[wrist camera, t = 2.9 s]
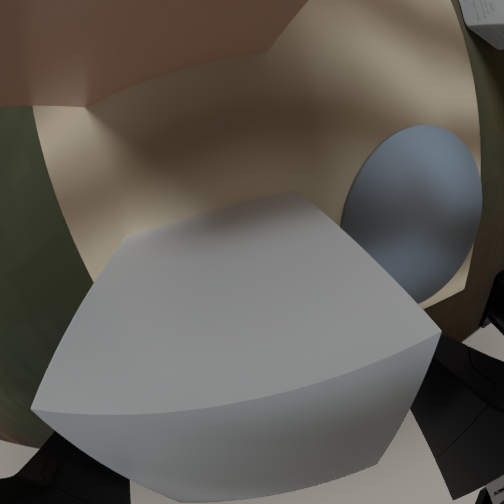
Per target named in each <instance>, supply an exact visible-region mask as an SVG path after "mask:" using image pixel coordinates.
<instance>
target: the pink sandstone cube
mask: <svg viewBox="0 0 504 504" xmlns="http://www.w3.org/2000/svg"><path fill="white" fill-rule="evenodd" d="M308 1H309V0H0V107H9V106H69V107H87V106H89V105H91V104H93V103H95V102H97V101H99V100H101V99H103V98H105V97H108V96H110V95H112V94H114V93H117V92H119V91H121V90H124V89H126V88H129V87H131V86H134V85H136V84H139V83H142V82H144V81H147V80H150V79H153V78H156V77H159V76H162V75H165V74H168V73H171V72H174V71H178V70H181V69H184V68H188V67H192V66H195V65H199V64H203V63H207V62H212V61H216V60H221V59H225V58H231V57H236V56H241V55H247V54H254V53H260V52H268V50H269V49H270V48H271V46H272V45H273V44H274V42H275V41H276V40H277V38H278V37H279V36H280V35H281V33H282V32H283V31H284V30H285V28H286V27H287V26H288V25H289V23H290V22H291V21H292V20H293V18H294V17H295V16H296V15H297V14H298V12H299V11H300V10H301V9H302V8H303V7H304V5H305V4H306V3H307V2H308Z"/></svg>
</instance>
